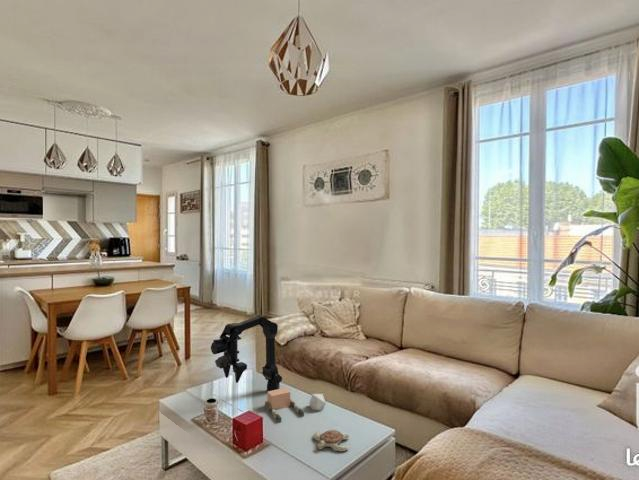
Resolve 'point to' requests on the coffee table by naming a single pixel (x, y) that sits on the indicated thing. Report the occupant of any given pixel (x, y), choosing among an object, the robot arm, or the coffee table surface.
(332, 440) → the decorative turtle
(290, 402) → the track
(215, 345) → the robot arm
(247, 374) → the coffee table surface
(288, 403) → the block
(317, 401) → the die
